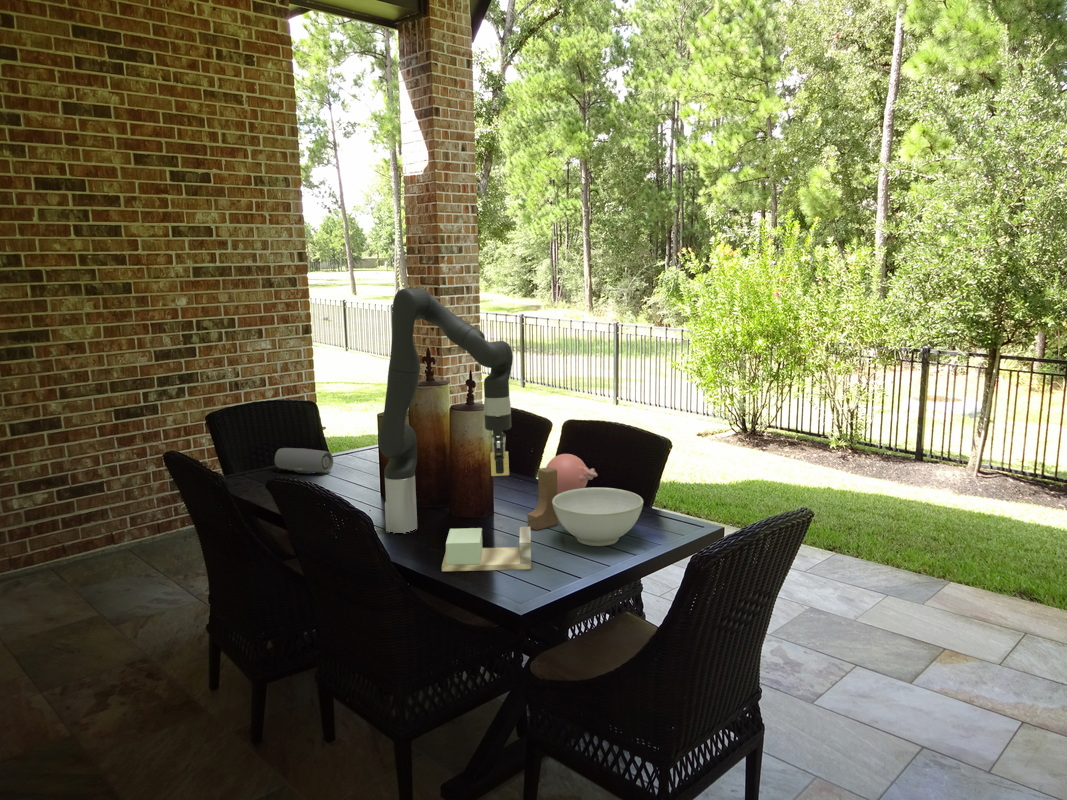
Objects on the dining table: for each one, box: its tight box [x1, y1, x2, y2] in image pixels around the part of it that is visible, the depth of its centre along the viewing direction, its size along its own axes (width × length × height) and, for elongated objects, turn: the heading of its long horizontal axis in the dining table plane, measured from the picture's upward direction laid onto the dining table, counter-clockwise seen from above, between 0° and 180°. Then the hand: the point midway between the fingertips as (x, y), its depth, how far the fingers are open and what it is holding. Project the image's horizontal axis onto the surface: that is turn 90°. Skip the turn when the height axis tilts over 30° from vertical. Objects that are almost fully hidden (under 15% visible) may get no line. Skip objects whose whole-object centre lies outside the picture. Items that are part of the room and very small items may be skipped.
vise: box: [441, 526, 532, 572], centre depth 214 cm, size 24×13×8 cm, turn 91°
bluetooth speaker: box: [274, 447, 334, 473], centre depth 315 cm, size 23×9×10 cm, turn 69°
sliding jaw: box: [445, 527, 484, 565], centre depth 214 cm, size 9×12×6 cm
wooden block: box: [527, 467, 559, 531], centre depth 242 cm, size 9×4×18 cm, turn 128°
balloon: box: [545, 453, 598, 494], centre depth 272 cm, size 15×20×15 cm
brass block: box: [489, 450, 510, 477], centre depth 221 cm, size 5×4×6 cm
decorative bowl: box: [552, 487, 644, 547], centre depth 230 cm, size 27×27×12 cm
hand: (500, 471), depth 222 cm, fingers closed on brass block, 4 cm apart
